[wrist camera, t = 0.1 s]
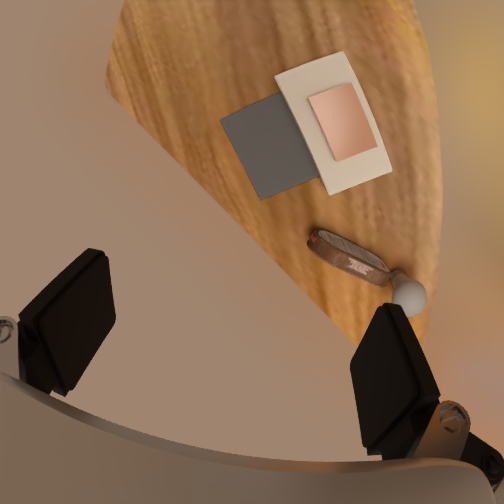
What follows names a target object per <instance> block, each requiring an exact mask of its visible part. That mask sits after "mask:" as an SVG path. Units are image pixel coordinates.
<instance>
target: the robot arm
mask: <svg viewBox="0 0 504 504" xmlns="http://www.w3.org/2000/svg"><path fill="white" fill-rule="evenodd" d="M19 318H20V321H19V322H18V323H16V321H15V320H14V319H12V318H10V317H6V316H2V317H0V504H504V459H503V457H502V455H501V454H500V453H499V452H498V451H497V450H495V449H494V448H492V447H491V446H489V445H488V444H487V443H485V442H484V441H482V440H481V439H479V438H478V437H477V436H475V435H474V434H472V433H471V432H469V430H470V425H471V422H470V417H469V415H468V413H467V411H466V410H465V409H464V407H462V406H461V405H460V404H458V403H456V402H454V401H449V400H448V401H443V402H441V403H440V402H439V399H438V398H439V397H440V395H441V394H440V392H439V389H438V387H437V384H436V382H435V379H434V377H433V374H432V372H431V369H430V367H429V365H428V362H427V360H426V357H425V355H424V353H423V351H422V348H421V346H420V344H419V342H418V339H417V337H416V335H415V333H414V331H413V329H412V327H411V324H410V322H409V320H408V318H407V316H406V314H405V312H404V310H403V308H402V306H401V305H399V304H393V303H384V304H383V305H382V306H379V307H378V308H377V310H376V312H375V314H374V316H373V318H372V320H371V322H370V324H369V326H368V328H367V330H366V333H365V335H364V337H363V338H362V340H361V342H360V344H359V346H358V348H357V350H356V352H355V354H354V356H353V358H352V360H351V363H350V372H351V377H352V382H353V388H354V394H355V400H356V406H357V412H358V418H359V424H360V431H361V438H362V444H363V447H365V448H367V454H368V455H382V460H381V461H361V462H360V461H359V462H309V461H291V460H279V459H269V458H260V457H252V456H243V455H237V454H230V453H225V452H219V451H213V450H209V449H204V448H199V447H195V446H190V445H186V444H182V443H177V442H174V441H170V440H166V439H163V438H159V437H156V436H152V435H149V434H145V433H142V432H139V431H136V430H133V429H130V428H127V427H124V426H121V425H118V424H115V423H112V422H110V421H107V420H105V419H102V418H100V417H97V416H94V415H92V414H89V413H87V412H85V411H83V410H80V409H78V408H76V407H73V406H71V405H69V404H67V403H65V402H62V401H60V400H58V399H56V398H54V397H52V396H50V395H49V394H50V393H51V391H52V390H53V391H54V392H56V393H58V394H60V395H62V396H64V397H65V396H66V395H67V393H68V391H69V390H70V391H71V390H73V389H74V388H75V386H76V384H77V383H78V381H79V379H80V378H81V376H82V374H83V373H84V371H85V369H86V368H87V366H88V365H89V363H90V361H91V360H92V358H93V357H94V355H95V353H96V352H97V350H98V349H99V347H100V346H101V344H102V342H103V341H104V339H105V338H106V336H107V335H108V333H109V332H110V330H111V329H112V327H113V325H114V323H115V320H116V314H115V307H114V301H113V293H112V285H111V277H110V268H109V260H108V257H107V256H105V253H104V252H103V251H101V250H96V249H91V248H88V249H87V250H86V251H84V252H83V253H82V254H81V255H80V256H78V257H77V258H76V259H75V260H74V261H73V262H72V263H71V264H70V265H68V267H66V268H65V269H64V270H63V271H62V272H61V273H60V274H59V275H58V276H57V277H56V278H54V279H53V280H52V281H51V282H50V283H49V284H48V285H47V286H46V287H45V288H44V289H43V290H42V291H41V292H40V293H39V294H38V295H37V296H36V297H35V298H34V299H33V300H32V301H31V302H30V303H29V304H28V305H27V306H26V307H25V308H24V309H23V310H22V312H20V314H19Z"/></svg>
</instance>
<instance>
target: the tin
mask: <svg viewBox="0 0 504 504" xmlns="http://www.w3.org/2000/svg"><path fill="white" fill-rule="evenodd" d="M307 246H308V248H309V249H310V250H311V251H312V252H313V253H314V254H315V255H316V256H318V257H319V258H320V259H322V260H323V261H325V262H327V263H328V264H330V265H332V266H334V267H336V268H338V269H341V270H343V271H345V272H347V273H349V274H351V275H354V276H356V277H358V278H360V279H362V280H364V281H366V282H368V283H370V284H373V285H375V286H378V287H385V286H386V283H387V282H388V280H389V278H390V277H391V275H392V272H391V270H390V269H389V268H388V266H387V265H386V263H385V262H384V261H383V260H381V259H380V258H379V257H377V256H376V255H375V254H373V253H371V252H370V251H368V250H366V249H364V248H362V247H360V246H358V245H356V244H355V243H353V242H351V241H349V240H347V239H345V238H343V237H341V236H339V235H336V234H334V233H332V232H330V231H327V230H324V229H315V230H314V232H313V233H312V235H311V237H310V239H309V240H308V241H307Z"/></svg>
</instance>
